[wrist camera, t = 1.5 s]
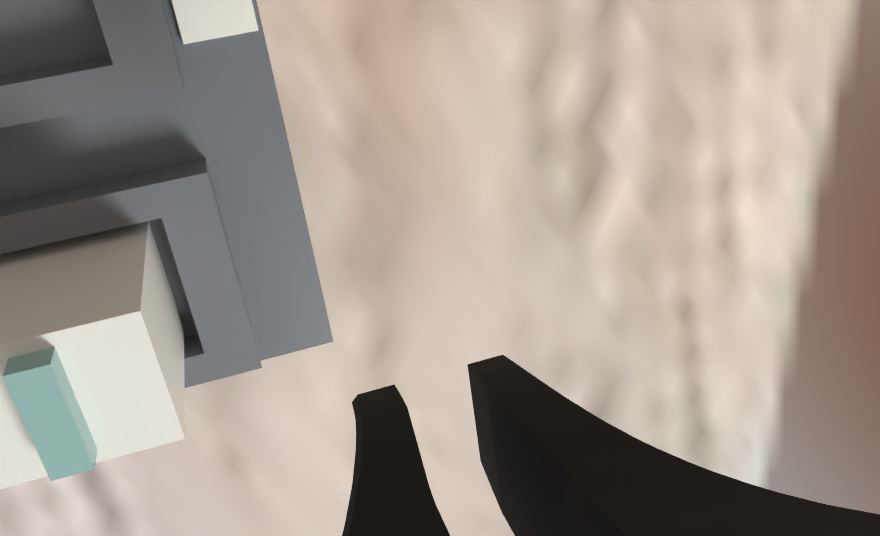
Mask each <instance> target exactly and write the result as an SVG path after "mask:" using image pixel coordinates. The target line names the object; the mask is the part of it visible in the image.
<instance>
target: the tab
mask: <svg viewBox="0 0 880 536" xmlns="http://www.w3.org/2000/svg"><path fill="white" fill-rule="evenodd" d="M182 439H185V384H184V327H183V324H182V321H181V318H180V315H179V312H178V309H177V306H176V303H175V300H174V297H173V294H172V291H171V287H170V284H169V281H168V278H167V275H166V272H165V269H164V266H163V263H162V260H161V257H160V254H159V251H158V247H157V244H156V241H155V238H154V235H153V232H152V229H151V226H150V223H149V221H147V222H142V223H138V224H133V225H129V226H125V227H120V228H116V229H111V230H107V231H102V232H98V233H93V234H89V235H84V236H80V237H75V238H71V239H66V240H62V241H57V242H53V243H48V244H44V245H39V246H35V247H30V248H26V249H21V250H17V251H12V252H8V253H4V254H0V489H2V488H6V487H10V486H13V485H17V484H21V483H24V482H28V481H32V480H35V479H39V478H43V477H46V476H49V479H50V481H53V480H56V479H60V478H63V477H67V476H71V475H74V474H78V473H82V472H85V471H89V470H93V469H95V464H96V463H98V462H101V461H105V460H109V459H112V458H116V457H119V456H123V455H127V454H130V453H134V452H138V451H141V450H145V449H149V448H152V447H156V446H160V445H163V444H167V443H171V442H174V441H178V440H182Z"/></svg>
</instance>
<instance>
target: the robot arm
mask: <svg viewBox="0 0 880 536" xmlns="http://www.w3.org/2000/svg"><path fill="white" fill-rule="evenodd" d="M468 371H469V378H470V386H471V393H472V400H473V408H474V415H475V422H476V430H477V437H478V444H479V452H480V459H481V463H482V465H483V468H484V470H485V472H486V475H487V477H488V480H489V482H490V485H491V487H492V490H493V492H494V494H495V497H496V499H497V502H498V504H499V506H500V509H501V511H502V513H503V515H504V517H505V519H506V520H507V522H508V524H509V526H510V527H511V529H512V531H513V533H514V535H515V536H880V515H879V514H874V513H868V512H863V511H857V510H852V509H846V508H841V507H836V506H831V505H826V504H822V503H817V502H813V501H809V500H805V499H802V498H798V497H794V496H789V495H786V494H782V493H778V492H775V491H771V490H768V489H764V488H761V487H758V486H754V485H751V484H748V483H745V482H742V481H739V480H736V479H733V478H730V477H727V476H724V475H721V474H718V473H716V472H713V471H710V470H707V469H705V468H702V467H700V466H697V465H694V464H692V463H689V462H687V461H685V460H682V459H680V458H678V457H675V456H673V455H671V454H669V453H666V452H664V451H662V450H659V449H657V448H655V447H653V446H651V445H649V444H646V443H644V442H642V441H640V440H638V439H636V438H634V437H632V436H631V435H629V434H627V433H625V432H623V431H621V430H619V429H618V428H616V427H614V426H612V425H610V424H608V423H606V422H605V421H603V420H601V419H600V418H598V417H596V416H595V415H593V414H591V413H590V412H588V411H586V410H585V409H583V408H582V407H580V406H578V405H577V404H575V403H574V402H572V401H570V400H569V399H567V398H566V397H564V396H563V395H561V394H560V393H558V392H557V391H555V390H554V389H552V388H551V387H549V386H548V385H546V384H545V383H543V382H542V381H540V380H539V379H537V378H536V377H534V376H533V375H532V374H530V373H529V372H527V371H526V370H524V369H523V368H522V367H520V366H519V365H517V364H516V363H514V362H513V361H511V360H510V359H508V358H507V357H505V356H504V355H501V356H497V357H493V358H490V359H486V360H482V361H479V362H475V363H471V364H468ZM352 404H353V409H354V413H355V418H356V454H355V464H354V474H353V483H352V490H351V495H350V501H349V506H348V511H347V516H346V522H345V526H344V531H343V535H342V536H450V535H449V532H448V530H447V528H446V526H445V524H444V522H443V520H442V517H441V515H440V513H439V511H438V509H437V507H436V504H435V502H434V499H433V496H432V493H431V490H430V488H429V484H428V481H427V477H426V473H425V470H424V466H423V463H422V459H421V455H420V452H419V448H418V444H417V441H416V437H415V434H414V430H413V426H412V423H411V419H410V416H409V412H408V409H407V406H406V404H405V402H404V400H403V399H402V397H401V395H400V393H399V392H398V390H397V388H396V387H395V385H391V386H388V387H384V388H380V389H377V390H373V391H369V392H366V393H362V394H358V395H357V396H356V398H355V399H354V400H353V402H352Z"/></svg>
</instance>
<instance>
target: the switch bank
mask: <svg viewBox="0 0 880 536" xmlns="http://www.w3.org/2000/svg"><path fill="white" fill-rule="evenodd" d="M147 221H149V223H150V226H151V229H152V232H153V235H154V238H155V241H156V244H157V247H158V251H159V254H160V257H161V260H162V263H163V266H164V269H165V272H166V275H167V278H168V281H169V284H170V287H171V291H172V294H173V297H174V300H175V303H176V306H177V309H178V312H179V315H180V318H181V321H182V324H183V327H184V384H185V388H186V387H190V386H194V385H198V384H202V383H205V382H209V381H213V380H217V379H221V378H225V377H228V376H232V375H236V374H240V373H244V372H247V371H251V370H255V369H259V368H262V367H261V361H260V360H264V359H268V358H272V357H276V356H279V355H283V354H287V353H291V352H295V351H299V350H303V349H306V348H310V347H314V346H318V345H322V344H326V343H329V342H333V338H332V334H331V329H330V325H329V320H328V316H327V312H326V307H325V303H324V298H323V294H322V289H321V285H320V281H319V276H318V272H317V267H316V263H315V258H314V254H313V250H312V245H311V241H310V236H309V232H308V227H307V223H306V219H305V214H304V210H303V205H302V201H301V196H300V192H299V188H298V183H297V179H296V174H295V170H294V166H293V161H292V157H291V152H290V148H289V143H288V139H287V135H286V130H285V126H284V121H283V117H282V112H281V108H280V104H279V99H278V95H277V90H276V86H275V81H274V77H273V73H272V68H271V64H270V59H269V55H268V50H267V46H266V42H265V37H264V33H263V28H262V24H261V19H260V15H259V11H258V6H257V2H256V0H0V254H4V253H8V252H12V251H17V250H21V249H26V248H30V247H35V246H39V245H44V244H48V243H53V242H57V241H62V240H66V239H71V238H75V237H80V236H84V235H89V234H93V233H98V232H102V231H107V230H111V229H116V228H120V227H125V226H129V225H133V224H138V223H142V222H147Z"/></svg>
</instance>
